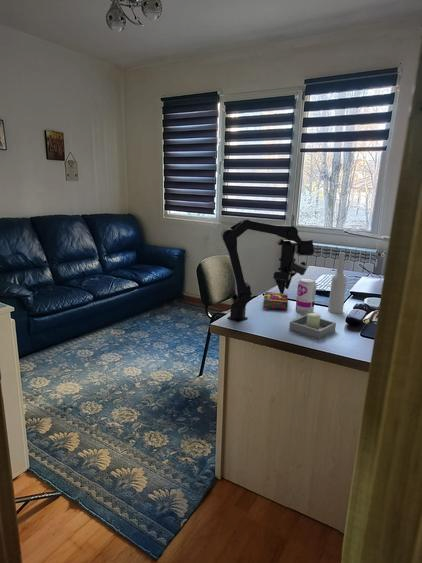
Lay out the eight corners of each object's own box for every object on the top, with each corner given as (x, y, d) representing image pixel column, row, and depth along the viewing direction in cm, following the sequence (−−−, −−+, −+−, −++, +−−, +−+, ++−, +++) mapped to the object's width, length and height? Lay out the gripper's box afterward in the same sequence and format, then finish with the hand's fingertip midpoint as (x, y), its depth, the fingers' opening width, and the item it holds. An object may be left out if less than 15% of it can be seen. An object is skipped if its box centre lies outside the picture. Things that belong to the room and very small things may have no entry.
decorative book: (286, 301, 183) (287, 292, 181) (287, 312, 167) (288, 301, 166) (264, 300, 185) (264, 290, 183) (262, 309, 169) (263, 299, 168)
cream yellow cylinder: (314, 332, 141) (316, 318, 140) (303, 328, 144) (304, 314, 143) (320, 329, 145) (322, 315, 143) (309, 325, 148) (311, 312, 146)
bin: (319, 339, 136) (320, 331, 135) (289, 329, 145) (289, 321, 144) (335, 331, 145) (336, 322, 144) (306, 322, 154) (306, 314, 153)
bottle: (345, 312, 168) (353, 253, 161) (336, 314, 165) (343, 254, 158) (334, 308, 174) (341, 251, 167) (325, 310, 170) (331, 252, 163)
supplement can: (303, 314, 163) (306, 283, 159) (291, 309, 170) (294, 278, 166) (317, 312, 167) (320, 281, 163) (305, 307, 174) (307, 277, 170)
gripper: (302, 261, 139) (299, 299, 143) (310, 254, 155) (307, 288, 159) (274, 258, 143) (271, 295, 147) (285, 251, 160) (282, 285, 164)
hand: (284, 291), depth 154 cm, fingers open, 9 cm apart
